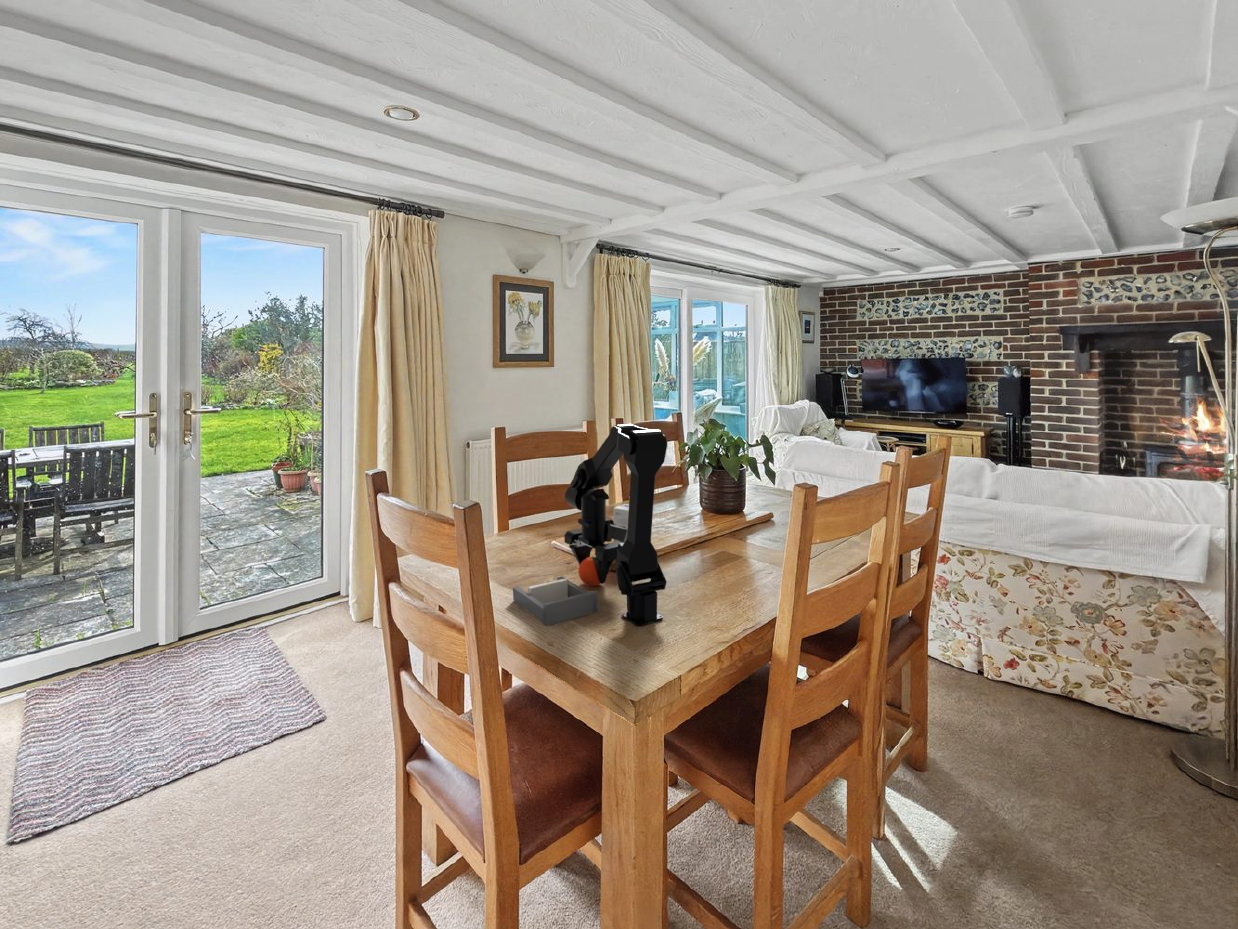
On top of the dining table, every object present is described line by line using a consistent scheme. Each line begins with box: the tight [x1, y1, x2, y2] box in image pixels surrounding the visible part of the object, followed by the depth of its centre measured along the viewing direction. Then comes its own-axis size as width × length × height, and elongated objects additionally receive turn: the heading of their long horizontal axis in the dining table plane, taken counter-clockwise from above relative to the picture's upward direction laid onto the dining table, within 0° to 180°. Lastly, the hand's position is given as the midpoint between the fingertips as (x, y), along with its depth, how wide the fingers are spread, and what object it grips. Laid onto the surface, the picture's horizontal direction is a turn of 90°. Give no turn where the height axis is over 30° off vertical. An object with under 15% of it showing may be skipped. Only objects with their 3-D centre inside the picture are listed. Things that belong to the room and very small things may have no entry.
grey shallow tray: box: [512, 576, 599, 627], centre depth 137 cm, size 16×12×4 cm
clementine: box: [578, 556, 602, 587], centre depth 149 cm, size 8×7×7 cm
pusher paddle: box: [527, 578, 568, 603], centre depth 139 cm, size 1×9×4 cm, turn 124°
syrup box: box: [613, 503, 629, 544], centre depth 168 cm, size 6×6×14 cm
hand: (594, 578), depth 150 cm, fingers closed on clementine, 7 cm apart
